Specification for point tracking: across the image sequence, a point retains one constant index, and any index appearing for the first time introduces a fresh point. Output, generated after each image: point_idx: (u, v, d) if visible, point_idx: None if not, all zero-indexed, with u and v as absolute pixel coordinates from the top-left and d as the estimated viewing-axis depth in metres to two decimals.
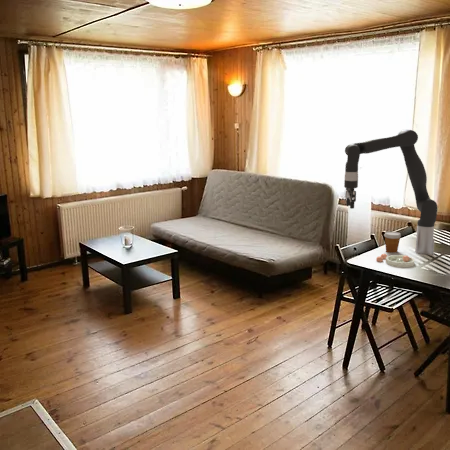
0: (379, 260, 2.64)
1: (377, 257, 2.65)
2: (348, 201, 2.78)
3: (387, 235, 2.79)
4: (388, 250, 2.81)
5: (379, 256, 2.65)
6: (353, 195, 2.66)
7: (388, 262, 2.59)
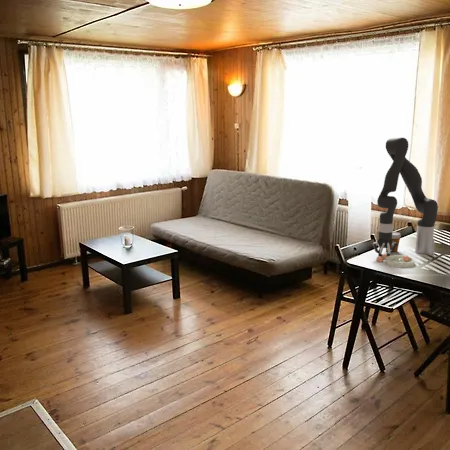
0: (379, 260, 2.64)
1: (377, 257, 2.65)
2: None
3: None
4: None
5: (379, 256, 2.65)
6: None
7: (388, 262, 2.59)
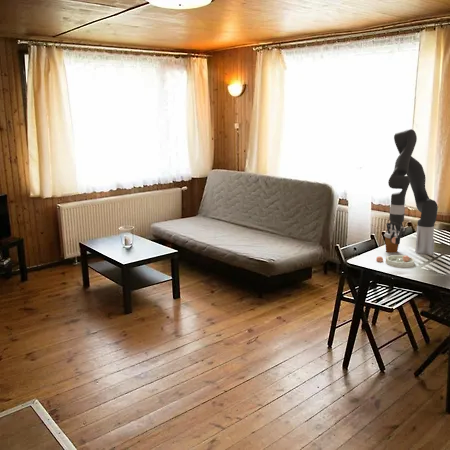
0: (379, 260, 2.64)
1: (377, 257, 2.65)
2: None
3: (387, 235, 2.79)
4: (388, 250, 2.81)
5: (379, 256, 2.65)
6: None
7: (388, 262, 2.59)
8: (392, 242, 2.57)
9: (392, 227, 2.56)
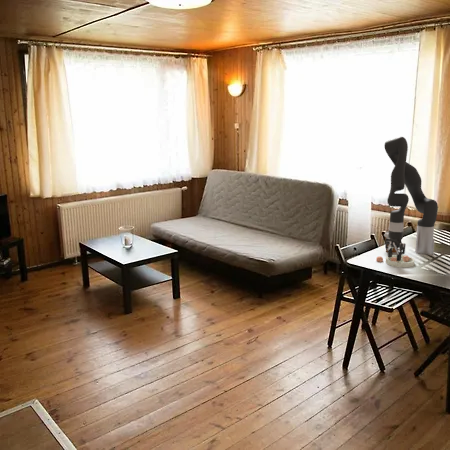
0: (379, 260, 2.64)
1: (377, 257, 2.65)
2: None
3: (387, 235, 2.79)
4: None
5: (379, 256, 2.65)
6: None
7: (388, 262, 2.59)
8: None
9: (391, 244, 2.58)
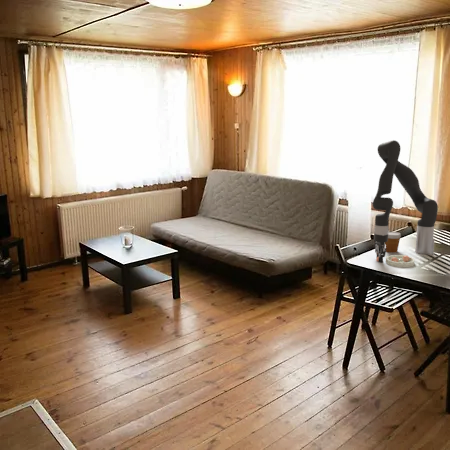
0: None
1: (377, 257, 2.65)
2: None
3: None
4: (388, 250, 2.81)
5: None
6: None
7: (388, 262, 2.59)
8: None
9: None
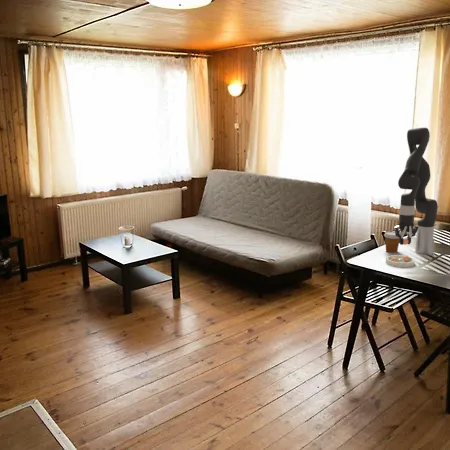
0: None
1: None
2: None
3: (387, 235, 2.79)
4: (388, 250, 2.81)
5: (404, 238, 2.54)
6: None
7: (388, 262, 2.59)
8: None
9: None
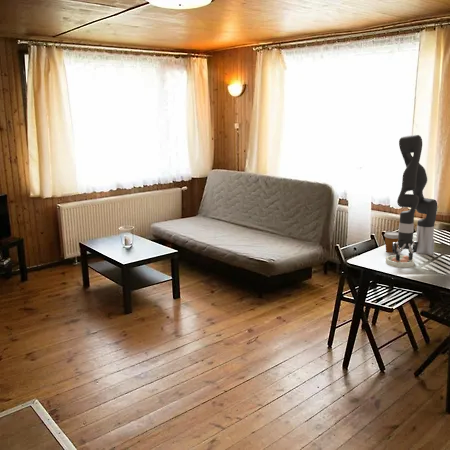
0: (400, 261, 2.57)
1: None
2: None
3: (387, 235, 2.79)
4: (388, 250, 2.81)
5: None
6: None
7: (388, 262, 2.59)
8: None
9: None
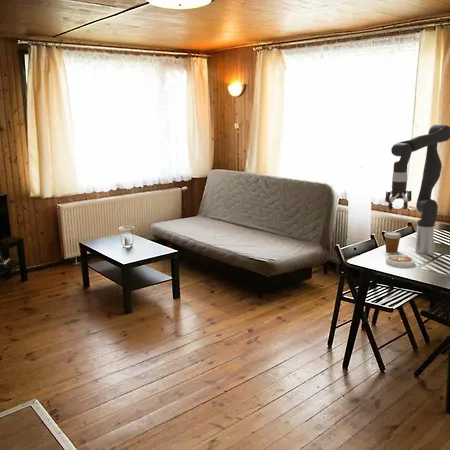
0: None
1: None
2: None
3: (387, 235, 2.79)
4: (388, 250, 2.81)
5: None
6: None
7: (388, 262, 2.59)
8: None
9: None
